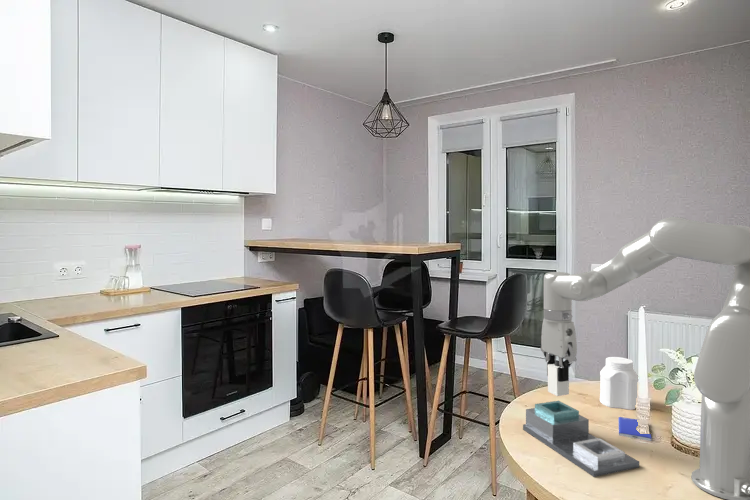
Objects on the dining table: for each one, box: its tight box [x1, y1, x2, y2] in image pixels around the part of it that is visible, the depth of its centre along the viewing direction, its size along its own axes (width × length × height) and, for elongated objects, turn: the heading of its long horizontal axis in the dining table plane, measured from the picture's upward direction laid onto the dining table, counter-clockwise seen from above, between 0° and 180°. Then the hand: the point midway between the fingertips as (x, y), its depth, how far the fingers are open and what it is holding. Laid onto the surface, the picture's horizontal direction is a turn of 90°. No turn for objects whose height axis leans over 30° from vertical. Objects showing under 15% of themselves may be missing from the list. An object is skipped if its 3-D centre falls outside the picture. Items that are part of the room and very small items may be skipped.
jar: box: [599, 356, 639, 411], centre depth 157 cm, size 12×10×15 cm
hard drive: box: [617, 416, 653, 442], centre depth 137 cm, size 2×8×12 cm
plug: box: [547, 360, 570, 397], centre depth 134 cm, size 4×4×9 cm
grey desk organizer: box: [522, 400, 640, 478], centre depth 127 cm, size 28×14×8 cm, turn 18°
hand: (557, 377), depth 134 cm, fingers closed on plug, 4 cm apart
